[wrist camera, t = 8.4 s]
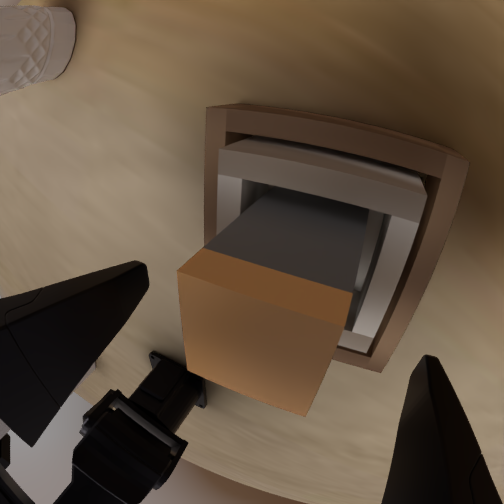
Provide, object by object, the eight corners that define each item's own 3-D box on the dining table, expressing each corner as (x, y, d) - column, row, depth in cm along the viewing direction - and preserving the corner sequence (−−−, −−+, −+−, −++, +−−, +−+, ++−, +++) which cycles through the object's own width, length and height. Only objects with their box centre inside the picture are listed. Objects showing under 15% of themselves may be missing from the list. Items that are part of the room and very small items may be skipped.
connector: (349, 276, 14) (305, 417, 8) (273, 254, 16) (187, 370, 9) (370, 200, 12) (344, 326, 6) (282, 178, 13) (176, 271, 7)
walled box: (385, 337, 18) (376, 400, 14) (227, 288, 21) (188, 336, 17) (453, 149, 11) (485, 175, 7) (236, 103, 15) (179, 111, 11)
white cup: (77, -15, 13) (-33, -11, 5) (86, 62, 17) (-37, 86, 9) (33, 30, 17) (-57, 47, 9) (41, 98, 20) (-53, 129, 12)
